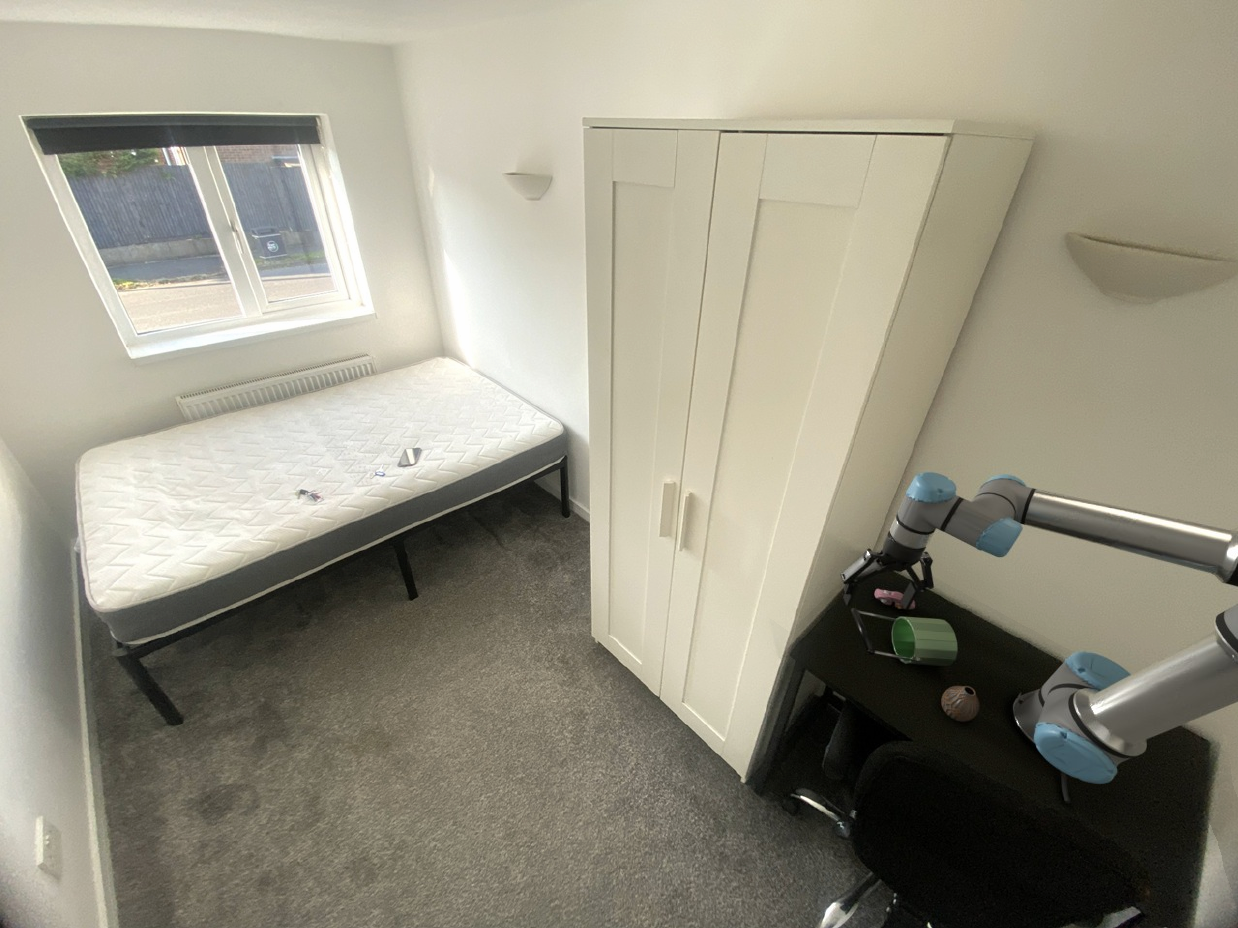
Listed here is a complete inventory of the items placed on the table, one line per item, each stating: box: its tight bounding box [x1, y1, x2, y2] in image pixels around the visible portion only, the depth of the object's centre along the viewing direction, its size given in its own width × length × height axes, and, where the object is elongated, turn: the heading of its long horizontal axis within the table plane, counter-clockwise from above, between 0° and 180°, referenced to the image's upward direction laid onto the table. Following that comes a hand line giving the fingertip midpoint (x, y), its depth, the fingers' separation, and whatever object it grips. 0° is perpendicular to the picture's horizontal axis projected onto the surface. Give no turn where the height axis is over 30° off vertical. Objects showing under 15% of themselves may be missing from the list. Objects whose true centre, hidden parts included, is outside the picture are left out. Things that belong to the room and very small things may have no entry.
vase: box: [940, 685, 980, 723], centre depth 115 cm, size 7×7×9 cm
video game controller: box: [874, 588, 916, 610], centre depth 141 cm, size 10×5×7 cm, turn 67°
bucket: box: [850, 607, 958, 667], centre depth 126 cm, size 11×13×22 cm
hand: (875, 603), depth 119 cm, fingers open, 13 cm apart
